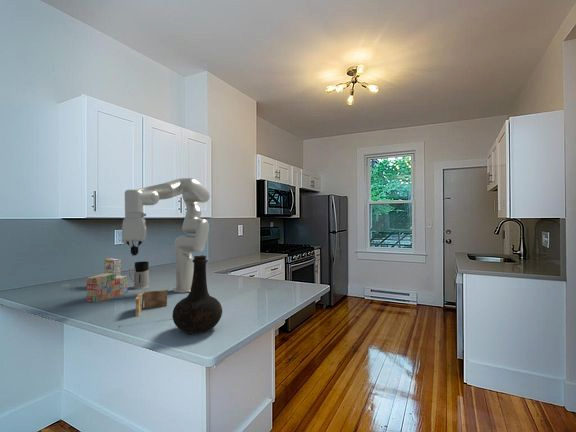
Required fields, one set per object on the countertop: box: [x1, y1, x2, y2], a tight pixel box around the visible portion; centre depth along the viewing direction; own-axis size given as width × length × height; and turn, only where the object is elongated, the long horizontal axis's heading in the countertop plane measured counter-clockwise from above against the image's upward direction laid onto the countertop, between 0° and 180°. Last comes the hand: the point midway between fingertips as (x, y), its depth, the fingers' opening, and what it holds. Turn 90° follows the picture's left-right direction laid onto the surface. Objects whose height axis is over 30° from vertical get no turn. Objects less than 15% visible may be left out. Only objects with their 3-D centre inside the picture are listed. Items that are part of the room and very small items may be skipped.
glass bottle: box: [171, 255, 223, 334], centre depth 117 cm, size 18×18×28 cm
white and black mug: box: [128, 261, 150, 290], centre depth 181 cm, size 9×14×15 cm, turn 167°
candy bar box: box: [103, 257, 122, 276], centre depth 186 cm, size 11×5×16 cm, turn 58°
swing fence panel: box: [135, 292, 144, 317], centre depth 133 cm, size 10×2×7 cm, turn 18°
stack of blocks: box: [86, 273, 129, 303], centre depth 162 cm, size 21×6×12 cm, turn 169°
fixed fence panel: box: [142, 289, 168, 310], centre depth 142 cm, size 12×2×8 cm, turn 116°
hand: (134, 255), depth 144 cm, fingers closed
